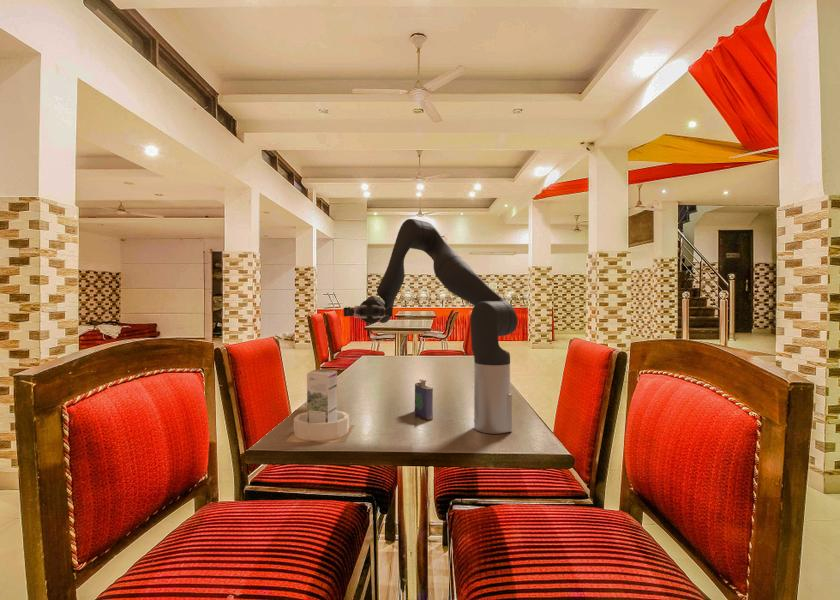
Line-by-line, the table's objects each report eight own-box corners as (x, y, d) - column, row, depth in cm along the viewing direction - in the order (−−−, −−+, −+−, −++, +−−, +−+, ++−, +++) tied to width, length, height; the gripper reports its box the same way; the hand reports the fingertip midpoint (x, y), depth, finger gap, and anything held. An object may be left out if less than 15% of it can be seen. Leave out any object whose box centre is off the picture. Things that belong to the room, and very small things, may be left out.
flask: (434, 420, 125) (434, 381, 124) (425, 421, 123) (424, 382, 123) (420, 412, 133) (420, 376, 133) (411, 413, 132) (411, 377, 132)
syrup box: (338, 427, 113) (338, 369, 113) (327, 433, 107) (327, 373, 107) (317, 425, 114) (317, 368, 114) (306, 432, 108) (306, 372, 108)
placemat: (354, 427, 117) (354, 425, 117) (345, 444, 103) (345, 442, 103) (301, 427, 117) (301, 424, 117) (284, 444, 103) (284, 441, 103)
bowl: (352, 425, 117) (352, 410, 117) (343, 441, 104) (343, 424, 104) (302, 425, 117) (302, 410, 117) (287, 441, 104) (287, 424, 104)
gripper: (349, 298, 140) (340, 299, 124) (394, 299, 140) (391, 299, 124) (349, 322, 140) (340, 325, 124) (394, 322, 140) (391, 326, 124)
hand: (365, 312), depth 124 cm, fingers open, 8 cm apart
